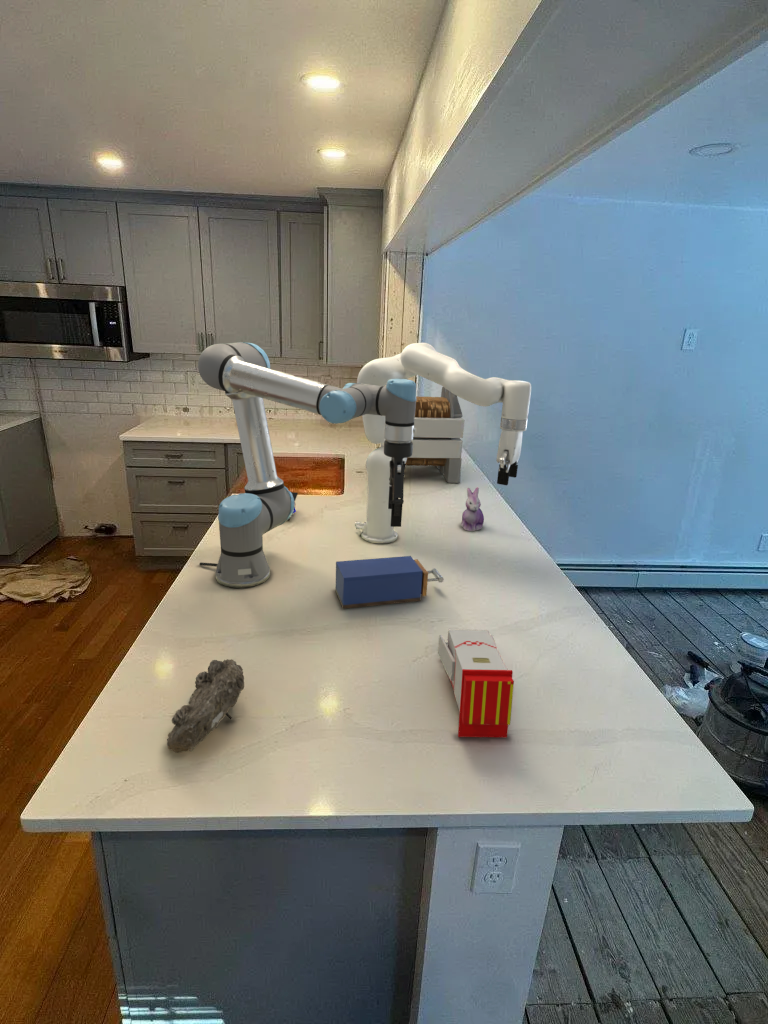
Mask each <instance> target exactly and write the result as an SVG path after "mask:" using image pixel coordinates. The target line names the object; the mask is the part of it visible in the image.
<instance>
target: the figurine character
mask: <svg viewBox="0 0 768 1024" xmlns="http://www.w3.org/2000/svg"><path fill="white" fill-rule="evenodd" d="M290 492H291V493H292V495H293V498H294V503H295V506H294V511H293V513H292V515H291V517H294V514H295V513H297V509H296V505H297V504H296V500H297V497H298V494H299V493H298V492H293V491H290ZM291 517H290V518H289V519H288V520H287V521H288V522H289V521H290V520H291Z"/></svg>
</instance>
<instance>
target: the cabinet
mask: <svg viewBox="0 0 768 1024" xmlns="http://www.w3.org/2000/svg"><path fill="white" fill-rule="evenodd" d="M414 560H415V559H414V558H413V556H411V555H403V556H393V557H392V556H390V557H380V558H379V557H377V558H376V557H375V558H365V559H353V560H351V559H350V560H340V561H339V560H338V561H335V588H334V589H335V590H334V591H335V593H336V596H337V598H338V600H339V603H340V605H341V607H342V609H343V610H345V609H354V608H355V609H356V608H363V607H365V608H366V607H375V606H384V605H393V604H401V603H402V604H405V603H413V602H421V600H422V595H421V586H422V572H423V571H422V570H421V569H420V567H419V566H418V565H417V563H416V562H415V561H414Z"/></svg>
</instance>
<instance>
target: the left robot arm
mask: <svg viewBox="0 0 768 1024" xmlns="http://www.w3.org/2000/svg"><path fill="white" fill-rule="evenodd" d="M270 362H271V361H270V359H269V356H268V355H267V353H266V352H265V350H264V349H263V348H261V347H260V346H259V345H258V344H256V343H252V342H245V341H237V342H227V343H215V344H211V345H209V346H207V347H206V348H205V349H204V350H203V351H201V352H200V355H199V357H198V359H197V370H198V373H199V376H200V378H201V379H202V380H203V382H204V383H205V384H206V385H207V386H208V387H210V388H213V389H216V390H218V391H219V390H220V391H223V392H224V394H225V396H227V397H228V398H229V399H230V400H231V401H232V406H233V412H234V416H235V421H236V426H237V431H238V436H239V443H240V446H241V451H242V457H243V462H244V466H245V471H246V472H245V473H246V476H247V482H246V484H245V486H244V492H243V493H241V492H240V493H238V494H232V495H229V496H227V497H225V498H224V499H222V500H221V502H220V503H219V504H218V514H217V520H218V530H219V544H220V555H219V558H218V561H217V563H214V562H202V561H200V562H199V566H205V567H216V569H215V573H214V574H215V580H216V582H217V583H218V584H220V585H222V586H225V587H227V588H237V589H239V588H240V589H241V588H243V589H244V588H250V587H255V586H259V585H261V584H264V583H265V582H266V581H268V579H270V577H271V568H270V565H269V562H268V560H267V556H266V554H265V552H264V545H263V544H264V540H263V535H265V534H266V533H268V532H269V531H272V530H274V529H275V528H277V527H279V526H282V525H283V524H284V523H286V522H287V521H288V519H289V518H290V519H291V515H292V513H293V511H294V506H295V504H296V502H295V503H294V498H293V495H292V493H291V492H292V491H290V490H289V488H288V487H286V486H285V484H284V482H285V481H284V479H282V478H280V477H279V476H278V473H277V467H276V462H275V456H274V452H273V446H272V441H271V436H270V429H269V424H268V418H267V412H266V408H265V403H264V399H265V400H268V401H271V402H275V403H278V404H282V405H285V406H288V407H292V408H295V409H297V410H298V409H299V410H302V411H305V412H309V413H312V414H315V415H319V416H321V417H322V418H323V419H324V420H325V421H326V422H328V423H330V424H334V425H335V424H344V423H346V422H349V421H351V420H353V419H357V418H360V417H362V415H365V414H372V415H380V416H385V432H384V438H385V439H386V440H385V441H384V454H385V455H386V456H388V457H391V461H390V478H389V481H390V482H389V484H390V485H391V486H389V502H388V509H391V527H394V528H401V527H402V521H403V520H402V517H403V504H404V502H405V501H404V489H405V487H404V483H405V482H404V480H405V471H406V465H405V461H403V458H408V457H410V456H412V452H413V443H412V440H413V432H416V428H414V419H415V407H416V399H417V398H416V397H417V384H416V382H415V381H414V380H412V379H409V378H408V379H390V380H388V381H387V385H385V386H377V385H368V384H361V383H357V382H348V383H345V384H344V386H343V387H338V386H335V385H330V384H327V383H323V382H320V381H316V380H314V379H310V378H309V379H308V378H305V377H301V376H298V375H295V374H291V373H287V372H284V371H280V370H276V369H273V368H271V363H270ZM295 507H296V506H295ZM293 514H294V513H293Z"/></svg>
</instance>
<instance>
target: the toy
mask: <svg viewBox="0 0 768 1024" xmlns="http://www.w3.org/2000/svg"><path fill="white" fill-rule="evenodd" d="M446 640H447V643H446V641H445V639H444V636H443V635H442V634H439V637H438V646H437V656H438V657H439V659H440V661H441V663H442V666H443V668H444V670H445V672H446V674H447V677H448V679H449V681H450V684H451V687H452V690H453V693H454V697H455V701H456V705H457V708H458V711H459V714H458V715H459V716H458V730H457V731H458V732H457V737H458V738H508V731H509V726H510V725H511V717H512V707H513V697H514V696H513V695H514V684H515V680H514V679H513V673H514V671H513V670H512V669H508V667H507V665H506V662H505V661H504V659H503V658H502V655H501V653H500V651H499V649H498V647H497V643H496V639H495V637H494V635H493V634H491V632H490V631H489V629H467V628H466V629H465V628H463V629H461V628H460V629H459V628H448V630H447V639H446Z"/></svg>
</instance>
